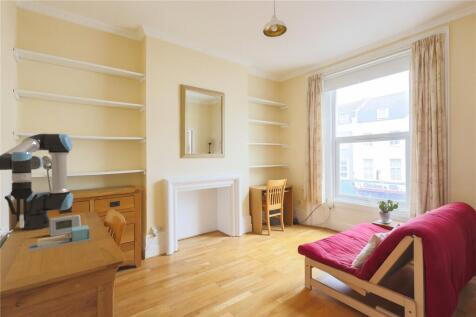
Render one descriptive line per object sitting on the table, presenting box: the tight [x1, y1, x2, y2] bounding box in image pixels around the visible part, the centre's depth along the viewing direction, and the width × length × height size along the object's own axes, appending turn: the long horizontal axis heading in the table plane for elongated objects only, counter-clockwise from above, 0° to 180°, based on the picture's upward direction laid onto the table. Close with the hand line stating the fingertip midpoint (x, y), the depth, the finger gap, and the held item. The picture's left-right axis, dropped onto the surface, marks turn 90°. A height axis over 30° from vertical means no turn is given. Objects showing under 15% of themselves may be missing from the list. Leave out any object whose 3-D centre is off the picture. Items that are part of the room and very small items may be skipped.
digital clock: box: [48, 214, 82, 237], centre depth 147 cm, size 16×9×11 cm, turn 123°
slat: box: [36, 233, 71, 247], centre depth 129 cm, size 4×14×3 cm, turn 129°
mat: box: [27, 236, 92, 252], centre depth 131 cm, size 12×27×1 cm, turn 129°
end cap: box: [70, 224, 90, 242], centre depth 137 cm, size 9×8×6 cm
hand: (21, 227), depth 121 cm, fingers closed
